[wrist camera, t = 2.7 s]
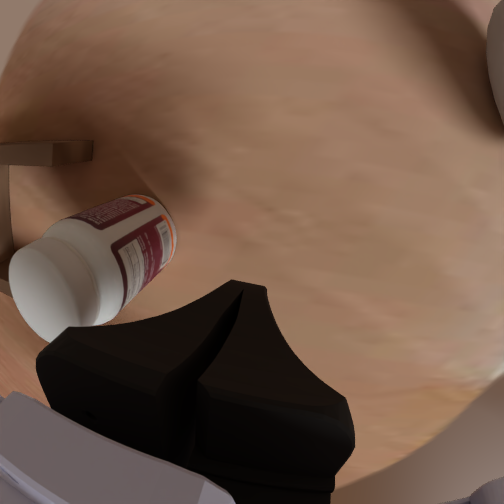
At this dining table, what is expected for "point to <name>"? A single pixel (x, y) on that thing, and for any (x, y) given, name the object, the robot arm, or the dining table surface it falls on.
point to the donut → (496, 55)
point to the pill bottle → (91, 264)
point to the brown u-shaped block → (30, 155)
